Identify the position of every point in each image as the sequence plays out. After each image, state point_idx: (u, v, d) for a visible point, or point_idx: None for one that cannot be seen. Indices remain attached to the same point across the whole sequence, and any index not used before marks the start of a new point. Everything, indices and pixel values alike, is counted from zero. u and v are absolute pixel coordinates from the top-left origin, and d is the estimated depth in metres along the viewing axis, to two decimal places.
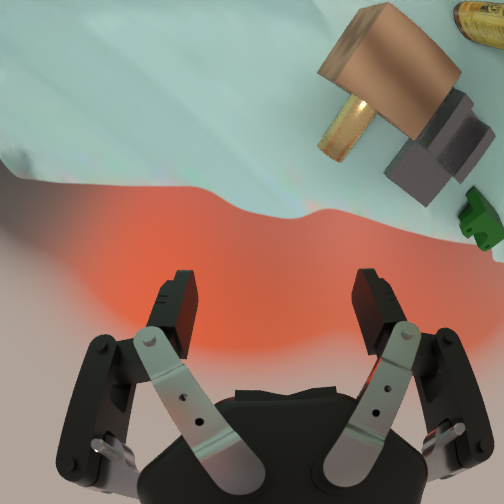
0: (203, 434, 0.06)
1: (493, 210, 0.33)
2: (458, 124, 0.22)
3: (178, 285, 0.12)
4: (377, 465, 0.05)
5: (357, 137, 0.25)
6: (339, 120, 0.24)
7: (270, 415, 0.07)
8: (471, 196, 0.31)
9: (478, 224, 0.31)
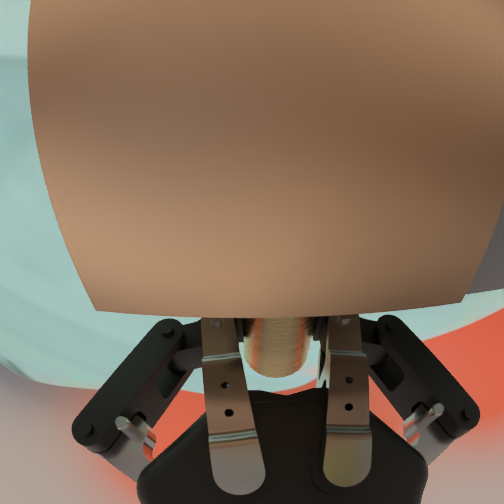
0: (226, 425, 0.06)
1: None
2: None
3: None
4: (377, 465, 0.05)
5: (307, 326, 0.10)
6: None
7: (270, 415, 0.07)
8: None
9: None
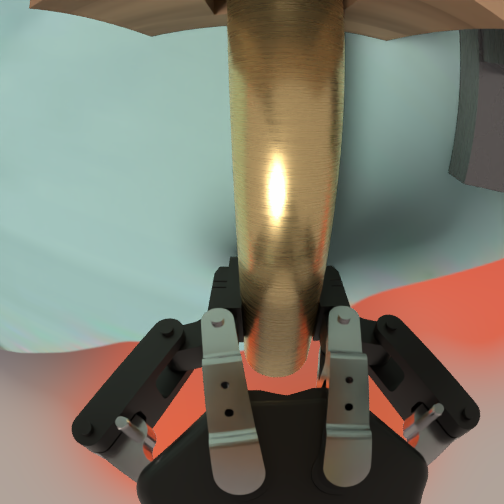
0: (226, 425, 0.06)
1: None
2: None
3: (235, 270, 0.12)
4: (377, 465, 0.05)
5: (307, 325, 0.10)
6: (244, 310, 0.11)
7: (270, 415, 0.07)
8: None
9: None
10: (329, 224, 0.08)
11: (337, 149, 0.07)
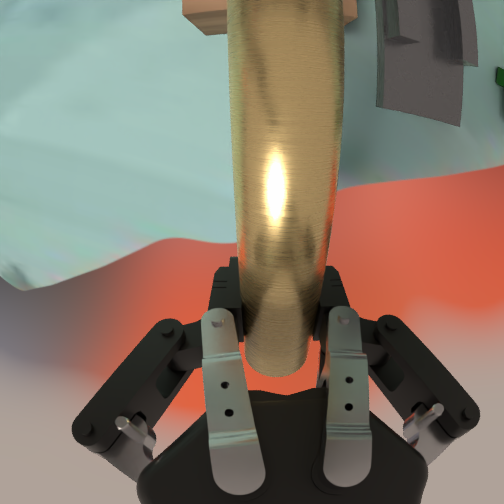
0: (226, 425, 0.06)
1: None
2: None
3: (235, 270, 0.12)
4: (377, 465, 0.05)
5: (307, 325, 0.10)
6: (244, 310, 0.11)
7: (270, 415, 0.07)
8: (502, 80, 0.14)
9: None
10: (329, 224, 0.08)
11: (337, 150, 0.07)
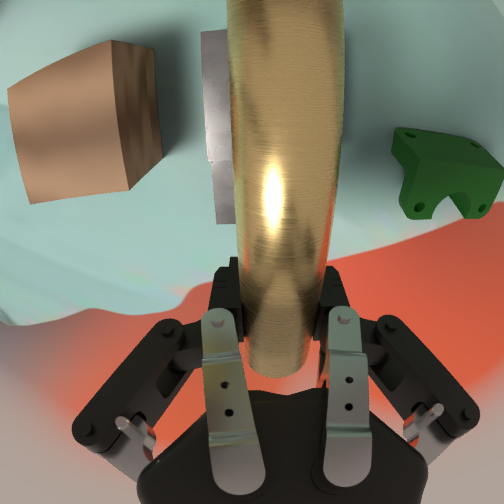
0: (226, 425, 0.06)
1: (462, 142, 0.18)
2: None
3: (235, 270, 0.12)
4: (377, 465, 0.05)
5: (307, 326, 0.10)
6: (244, 311, 0.11)
7: (270, 415, 0.07)
8: (395, 149, 0.19)
9: (428, 189, 0.18)
10: (329, 226, 0.08)
11: (337, 151, 0.07)
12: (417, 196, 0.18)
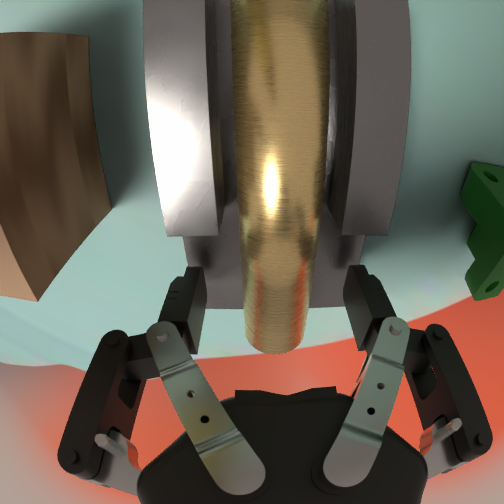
0: (207, 431, 0.06)
1: None
2: (198, 80, 0.07)
3: (189, 281, 0.12)
4: (377, 465, 0.05)
5: (302, 301, 0.12)
6: (245, 287, 0.12)
7: (270, 415, 0.07)
8: (471, 198, 0.11)
9: None
10: (318, 207, 0.09)
11: (323, 142, 0.08)
12: (495, 276, 0.10)
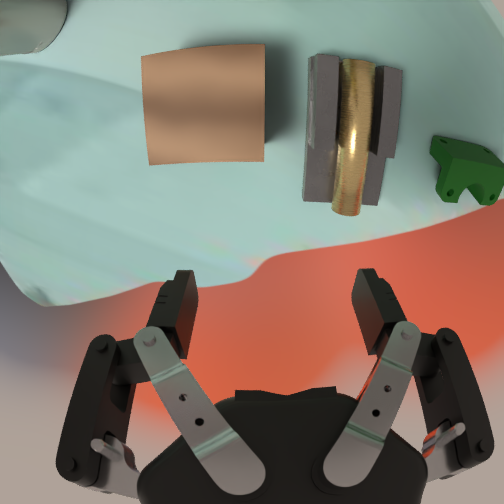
0: (203, 434, 0.06)
1: (478, 148, 0.24)
2: (335, 95, 0.21)
3: (178, 285, 0.12)
4: (377, 465, 0.05)
5: (362, 185, 0.26)
6: (339, 177, 0.26)
7: (270, 415, 0.07)
8: (433, 150, 0.25)
9: (456, 179, 0.23)
10: (369, 143, 0.23)
11: (371, 121, 0.22)
12: (449, 184, 0.24)
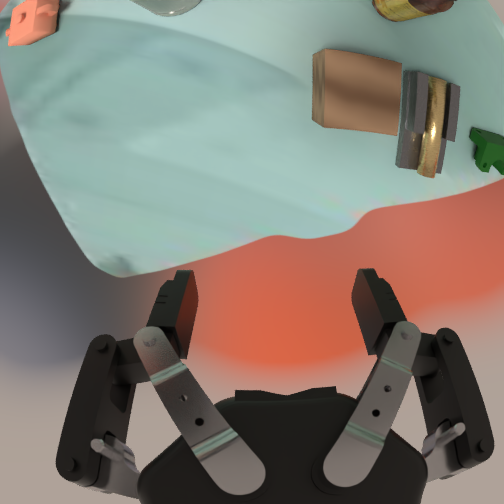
0: (203, 434, 0.06)
1: (498, 137, 0.31)
2: (426, 99, 0.28)
3: (178, 285, 0.12)
4: (377, 465, 0.05)
5: None
6: (425, 151, 0.33)
7: (270, 415, 0.07)
8: (473, 137, 0.32)
9: (488, 156, 0.30)
10: None
11: None
12: (484, 159, 0.31)
